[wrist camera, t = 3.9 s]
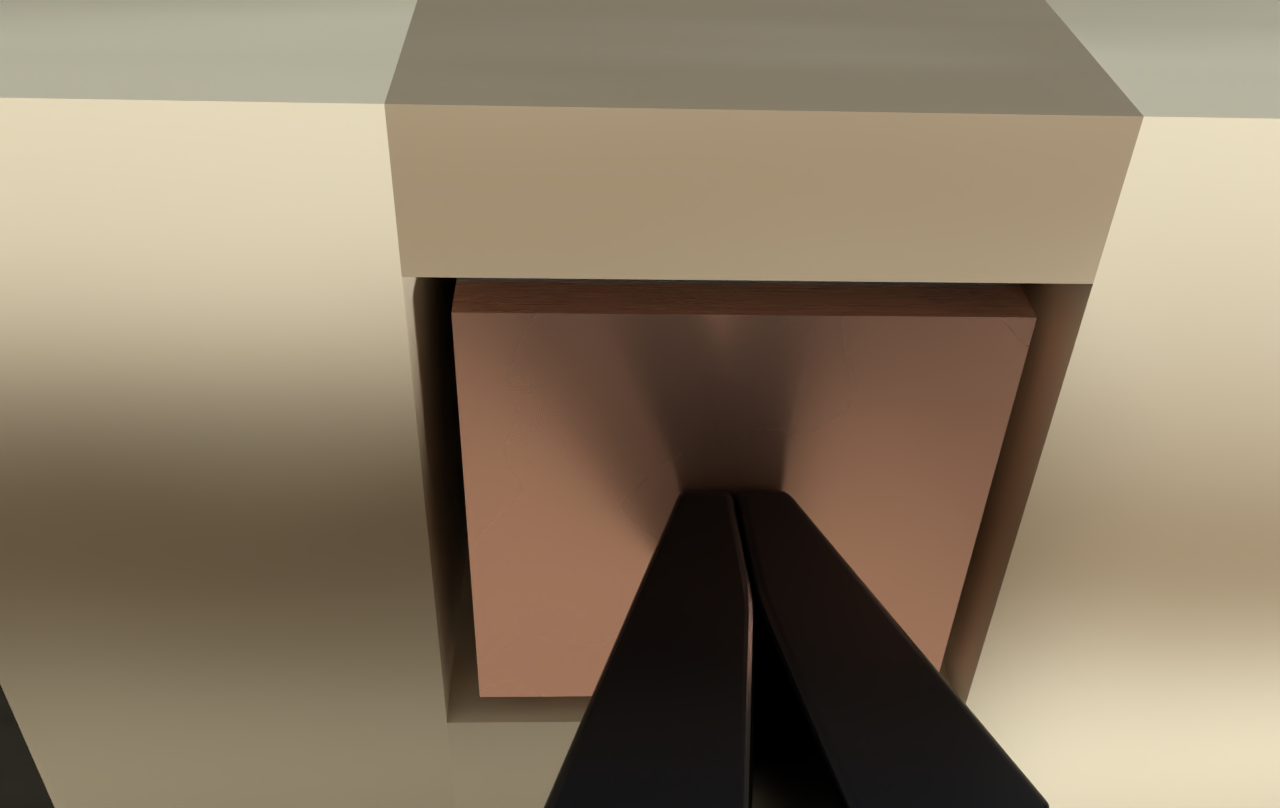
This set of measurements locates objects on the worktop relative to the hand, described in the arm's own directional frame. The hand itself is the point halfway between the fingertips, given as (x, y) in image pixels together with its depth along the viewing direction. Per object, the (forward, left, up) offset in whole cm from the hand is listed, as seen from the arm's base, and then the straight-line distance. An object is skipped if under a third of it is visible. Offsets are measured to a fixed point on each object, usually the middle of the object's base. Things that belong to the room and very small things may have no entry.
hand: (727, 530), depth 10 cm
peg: (0, 0, -6) cm, 6 cm away
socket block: (-6, 0, -6) cm, 9 cm away
